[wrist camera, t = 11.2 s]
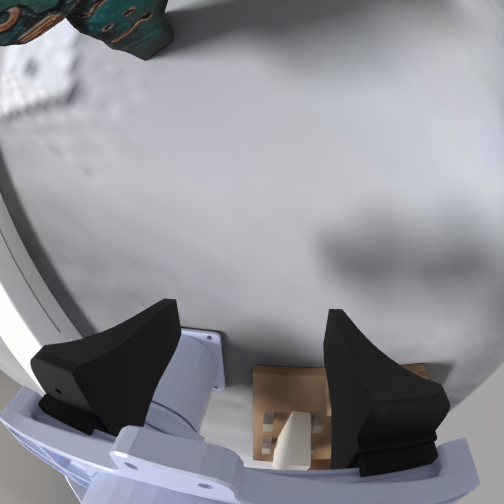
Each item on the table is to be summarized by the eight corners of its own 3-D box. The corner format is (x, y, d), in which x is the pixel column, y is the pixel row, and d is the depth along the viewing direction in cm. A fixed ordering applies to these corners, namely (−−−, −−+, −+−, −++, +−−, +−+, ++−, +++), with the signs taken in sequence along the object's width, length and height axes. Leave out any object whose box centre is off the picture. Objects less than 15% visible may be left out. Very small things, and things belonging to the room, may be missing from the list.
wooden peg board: (254, 453, 33) (249, 482, 29) (254, 364, 26) (246, 405, 21) (372, 452, 31) (375, 479, 26) (423, 362, 24) (438, 397, 19)
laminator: (-35, 187, 24) (-62, 198, 18) (-12, 135, 21) (-47, 141, 15) (67, 370, 33) (46, 396, 28) (108, 358, 30) (84, 391, 24)
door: (268, 441, 30) (263, 487, 23) (285, 409, 27) (281, 463, 20) (290, 444, 29) (286, 489, 23) (310, 412, 26) (310, 466, 20)
